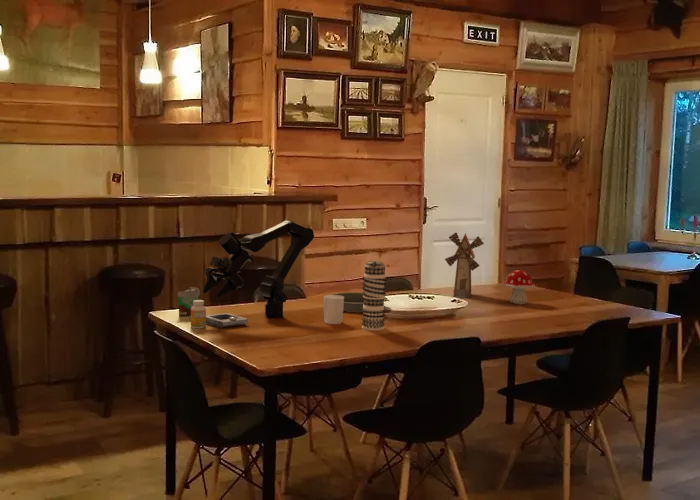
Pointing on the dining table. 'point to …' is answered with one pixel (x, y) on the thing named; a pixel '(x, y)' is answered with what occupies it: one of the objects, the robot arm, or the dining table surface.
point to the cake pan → (353, 301)
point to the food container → (187, 300)
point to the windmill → (463, 264)
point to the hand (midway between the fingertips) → (210, 294)
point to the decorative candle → (373, 295)
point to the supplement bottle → (198, 314)
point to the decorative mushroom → (518, 286)
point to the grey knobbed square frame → (225, 320)
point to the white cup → (333, 309)
